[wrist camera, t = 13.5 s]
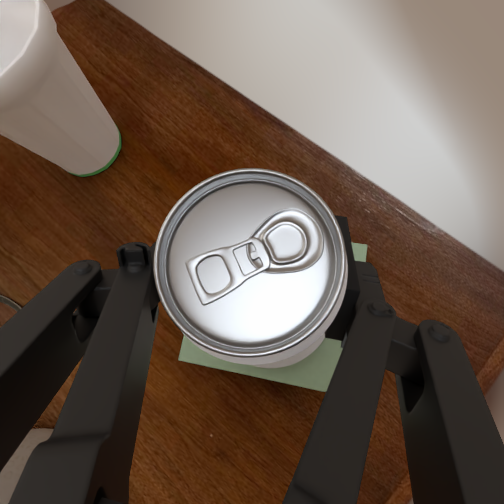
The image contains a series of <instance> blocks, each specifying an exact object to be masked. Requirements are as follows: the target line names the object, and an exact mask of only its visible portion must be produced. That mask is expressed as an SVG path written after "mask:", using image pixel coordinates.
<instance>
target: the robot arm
mask: <svg viewBox="0 0 504 504" xmlns="http://www.w3.org/2000/svg"><path fill="white" fill-rule="evenodd" d="M334 216H335V215H334ZM335 218H336V220H337V222H338V224H339V227H340V229H341V232H342V235H343V239H344V244H345V250H346V256H347V265H348V277H347V286H346V291H345V295H344V298H343V301H342V304H341V307H340V309H339V311H338V313H337V315H336V317H335V318H334V320H333V322H332V323H331V325H330V326H329V327H328V329H327V330H326V331H325V338H329V339H334V340H339V341H343V340H344V338H345V335H346V334H347V339H346V342H345V344H344V347H343V350H342V352H341V355H340V357H339V360H338V363H337V365H336V368H335V370H334V373H333V375H332V378H331V381H330V383H329V386H328V388H327V391H326V394H325V396H324V399H323V401H322V404H321V406H320V409H319V412H318V414H317V417H316V419H315V422H314V424H313V427H312V430H311V432H310V435H309V437H308V440H307V443H306V445H305V448H304V450H303V453H302V455H301V458H300V461H299V463H298V466H297V468H296V471H295V473H294V476H293V478H292V481H291V483H290V485H289V488H288V490H287V493H286V495H285V498H284V500H283V503H282V504H356V503H357V498H358V494H359V489H360V484H361V480H362V475H363V470H364V466H365V461H366V456H367V452H368V447H369V442H370V438H371V433H372V428H373V423H374V419H375V414H376V409H377V405H378V400H379V395H380V391H381V386H382V381H383V377H384V372H385V369H386V370H389V371H391V372H393V373H395V378H396V384H397V391H398V398H399V405H400V412H401V419H402V426H403V433H404V440H405V447H406V454H407V461H408V467H409V474H410V481H411V488H412V495H413V502H414V504H504V444H503V442H502V439H501V437H500V435H499V432H498V430H497V427H496V425H495V422H494V420H493V417H492V415H491V413H490V410H489V408H488V405H487V403H486V400H485V398H484V395H483V393H482V390H481V388H480V386H479V383H478V381H477V378H476V376H475V373H474V371H473V369H472V366H471V364H470V361H469V359H468V356H467V354H466V351H465V349H464V347H463V344H462V342H461V339H460V337H459V336H458V334H457V333H456V332H455V331H454V330H453V329H452V328H451V327H449V326H447V325H445V324H444V323H441V322H438V321H435V320H424V321H422V322H421V323H420V324H419V326H417V325H415V324H412V323H409V322H407V321H405V320H402V319H400V318H399V317H397V316H396V312H395V310H394V309H393V307H392V306H390V305H389V304H388V303H386V301H385V298H384V294H383V291H382V287H381V284H380V281H379V278H378V274H377V270H376V269H375V268H374V267H373V265H372V264H371V263H368V262H361V261H355V259H354V254H353V248H352V243H351V238H350V232H349V227H348V222H347V217H342V216H335ZM155 246H156V242H155V243H154V244H153V245H152V246H151V247H149V246H148V245H147V244H145V243H142V242H132V243H127V244H124V245H122V246H120V247H119V248H118V249H117V250H116V252H117V257H118V261H119V266H120V268H119V269H110V270H101V266H100V264H99V263H98V262H97V261H94V260H83V261H78V262H76V263H73V264H71V265H70V266H68V267H67V268H66V269H65V270H64V271H62V272H61V273H60V274H59V275H58V276H57V277H56V278H55V279H54V280H53V281H51V282H50V283H49V284H48V285H47V286H46V287H45V288H44V289H43V290H42V291H40V292H39V293H38V294H37V295H36V296H35V297H34V298H33V299H32V300H30V301H29V302H28V303H27V304H26V305H25V306H24V307H23V308H22V309H21V310H19V311H18V312H17V313H16V314H15V315H14V316H13V317H12V318H11V319H10V320H8V321H7V322H6V323H5V324H4V325H3V326H2V327H1V328H0V472H1V471H2V469H3V468H4V467H5V465H6V464H7V462H8V461H9V459H10V458H11V457H12V455H13V454H14V452H15V451H16V450H17V448H18V447H19V445H20V444H21V443H22V441H23V440H24V438H25V437H26V436H27V434H28V433H29V431H30V430H31V428H32V427H33V426H34V424H35V423H36V421H37V420H38V419H39V417H40V416H41V414H42V413H43V412H44V410H45V409H46V407H47V406H48V405H49V403H50V402H51V400H52V399H53V397H54V396H55V395H56V393H57V392H58V390H59V389H60V388H61V386H62V385H63V383H64V382H65V381H66V379H67V378H68V376H69V375H70V373H71V372H72V371H73V369H74V368H75V366H76V365H77V364H78V362H79V361H80V359H81V358H82V357H83V359H82V361H81V364H80V366H79V369H78V371H77V374H76V376H75V378H74V381H73V383H72V386H71V388H70V391H69V393H68V396H67V398H66V401H65V403H64V406H63V408H62V410H61V413H60V415H59V418H58V420H57V423H56V425H55V428H54V430H53V432H52V434H51V436H50V437H49V439H48V440H46V441H44V442H41V443H39V444H38V445H37V446H36V447H35V448H34V449H33V451H32V453H31V455H30V456H29V458H28V460H27V462H26V465H25V467H24V469H23V471H22V474H21V476H20V478H19V480H18V483H17V485H16V487H15V490H14V492H13V494H12V496H11V499H10V501H9V503H8V504H128V501H129V476H130V469H131V464H132V458H133V453H134V447H135V441H136V436H137V430H138V425H139V419H140V413H141V408H142V402H143V397H144V391H145V385H146V380H147V374H148V369H149V363H150V358H151V352H152V346H153V341H154V335H155V330H156V324H157V318H158V313H159V310H158V303H159V302H160V298H159V295H158V292H157V288H156V284H155V279H154V266H153V263H154V251H155ZM75 309H77V310H76V311H75ZM74 311H75V312H74ZM73 312H74V313H73ZM83 355H84V356H83Z"/></svg>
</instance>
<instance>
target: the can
mask: <svg viewBox="0 0 504 504" xmlns="http://www.w3.org/2000/svg"><path fill="white" fill-rule="evenodd" d="M153 266H154V279H155V284H156V288H157V292H158V295H159V298H160V300H161V303H162V305H163V307H164V309H165V310H166V312H167V314H168V315H169V317H170V318H171V320H172V321H173V322H174V324H175V325H176V326H177V327H178V328H179V329H180V330H181V331H182V333H183V334H184V335H185V336H186V337H187V338H188V339H189V340H190V341H191V342H192V343H194V344H195V345H196V346H197V347H199V348H200V349H202V350H203V351H205V352H207V353H208V354H210V355H212V356H214V357H217V358H219V359H222V360H225V361H228V362H232V363H238V364H246V365H260V364H268V363H273V362H277V361H281V360H284V359H287V358H289V357H291V356H294V355H296V354H298V353H299V352H301V351H303V350H304V349H306V348H307V347H309V346H310V345H311V344H313V343H314V342H315V341H316V340H317V339H318V338H319V337H320V336H321V335H322V334H323V333H324V332H325V331H326V330H327V329H328V327H329V326H330V325H331V323H332V322H333V320H334V318H335V317H336V315H337V313H338V311H339V309H340V307H341V304H342V301H343V298H344V295H345V291H346V286H347V277H348V265H347V256H346V250H345V244H344V239H343V235H342V232H341V229H340V227H339V224H338V222H337V220H336V218H335V216H334V214H333V213H332V211H331V210H330V208H329V207H328V205H327V204H326V203H325V202H324V200H323V199H322V198H321V197H320V196H319V195H318V194H317V193H316V192H315V191H313V190H312V189H311V188H310V187H308V186H307V185H305V184H304V183H302V182H301V181H299V180H297V179H295V178H293V177H291V176H289V175H286V174H283V173H280V172H277V171H273V170H268V169H260V168H244V169H236V170H231V171H226V172H223V173H220V174H217V175H215V176H212V177H210V178H208V179H206V180H204V181H202V182H201V183H199V184H197V185H196V186H194V187H193V188H192V189H190V190H189V191H188V192H187V193H186V194H185V195H184V196H183V197H182V198H181V199H180V200H179V201H178V202H177V203H176V204H175V205H174V207H173V208H172V209H171V211H170V212H169V214H168V215H167V217H166V219H165V221H164V223H163V225H162V227H161V229H160V232H159V235H158V238H157V241H156V246H155V251H154V263H153Z"/></svg>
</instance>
